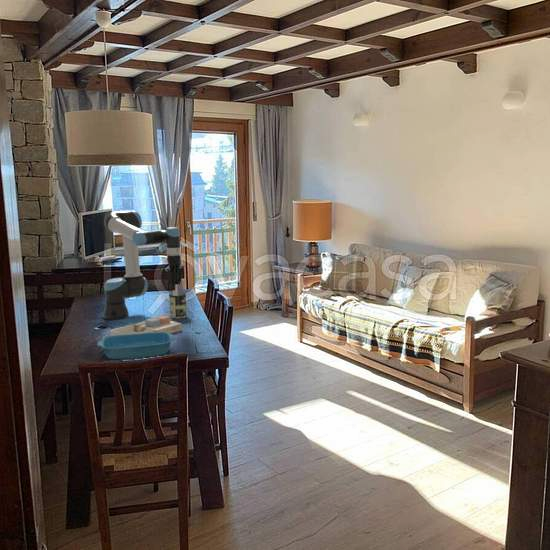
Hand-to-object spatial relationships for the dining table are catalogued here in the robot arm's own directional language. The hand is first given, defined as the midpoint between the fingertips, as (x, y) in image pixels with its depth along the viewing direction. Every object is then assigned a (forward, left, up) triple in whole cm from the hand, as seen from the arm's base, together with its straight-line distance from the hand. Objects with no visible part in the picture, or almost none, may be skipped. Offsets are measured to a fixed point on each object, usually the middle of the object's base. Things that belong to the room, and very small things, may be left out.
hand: (175, 295), depth 323 cm
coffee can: (-16, +16, -18) cm, 29 cm away
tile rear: (0, -10, -14) cm, 17 cm away
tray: (0, -31, -18) cm, 36 cm away
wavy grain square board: (0, -14, -18) cm, 23 cm away
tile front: (0, -17, -14) cm, 22 cm away
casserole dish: (+23, -46, -18) cm, 55 cm away
